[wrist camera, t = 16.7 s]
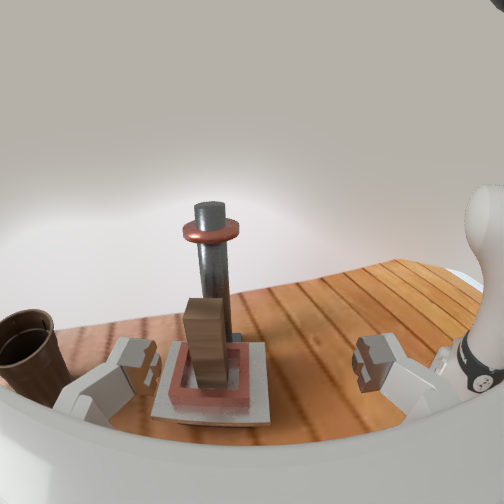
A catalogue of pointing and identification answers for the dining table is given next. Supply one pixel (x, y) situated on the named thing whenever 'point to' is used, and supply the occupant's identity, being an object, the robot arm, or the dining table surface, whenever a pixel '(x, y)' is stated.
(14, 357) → the plant pot
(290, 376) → the dining table surface
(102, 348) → the dining table surface
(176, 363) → the bracket
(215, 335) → the tall wooden post
